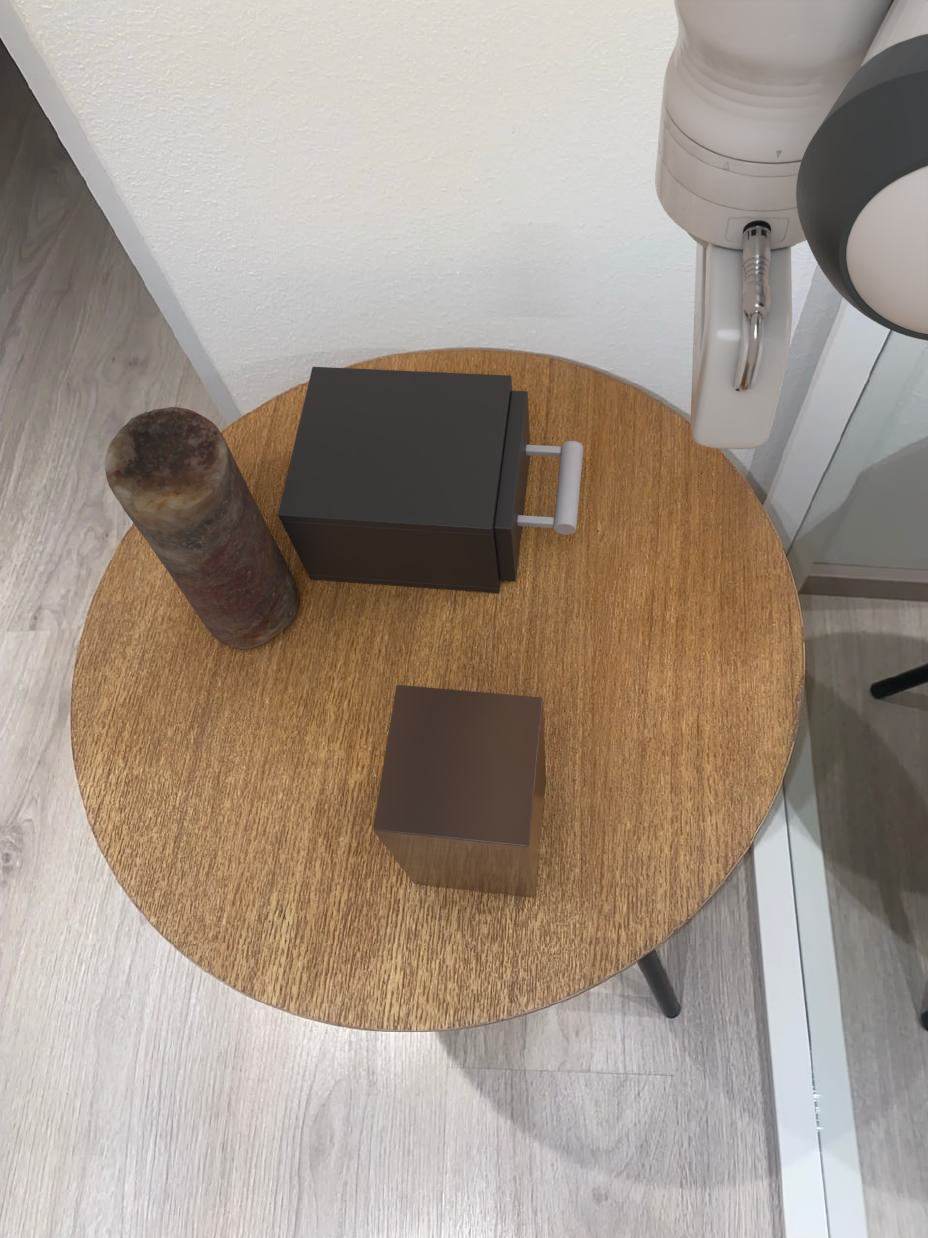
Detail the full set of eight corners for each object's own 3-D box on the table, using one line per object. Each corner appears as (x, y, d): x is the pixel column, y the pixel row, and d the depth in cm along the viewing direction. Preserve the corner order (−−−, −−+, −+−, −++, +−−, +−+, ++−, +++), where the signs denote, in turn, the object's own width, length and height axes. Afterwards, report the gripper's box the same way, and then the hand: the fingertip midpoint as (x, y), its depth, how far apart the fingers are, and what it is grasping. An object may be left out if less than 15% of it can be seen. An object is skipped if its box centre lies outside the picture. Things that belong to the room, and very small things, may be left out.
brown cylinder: (275, 547, 76) (188, 383, 58) (323, 616, 73) (246, 466, 55) (190, 599, 75) (73, 449, 56) (235, 671, 72) (127, 537, 54)
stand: (546, 778, 66) (543, 696, 52) (535, 898, 63) (528, 847, 49) (430, 767, 67) (396, 684, 53) (413, 884, 64) (372, 830, 50)
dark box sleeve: (516, 452, 78) (511, 375, 69) (499, 593, 73) (491, 528, 64) (338, 442, 80) (312, 366, 71) (309, 579, 74) (277, 515, 66)
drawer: (584, 456, 76) (587, 393, 69) (572, 586, 71) (574, 533, 64) (363, 444, 78) (344, 382, 71) (338, 569, 74) (315, 516, 67)
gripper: (841, 335, 38) (775, 517, 51) (826, 0, 47) (773, 227, 59) (678, 331, 39) (652, 510, 52) (691, 3, 47) (667, 226, 60)
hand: (717, 357), depth 55 cm, fingers closed
